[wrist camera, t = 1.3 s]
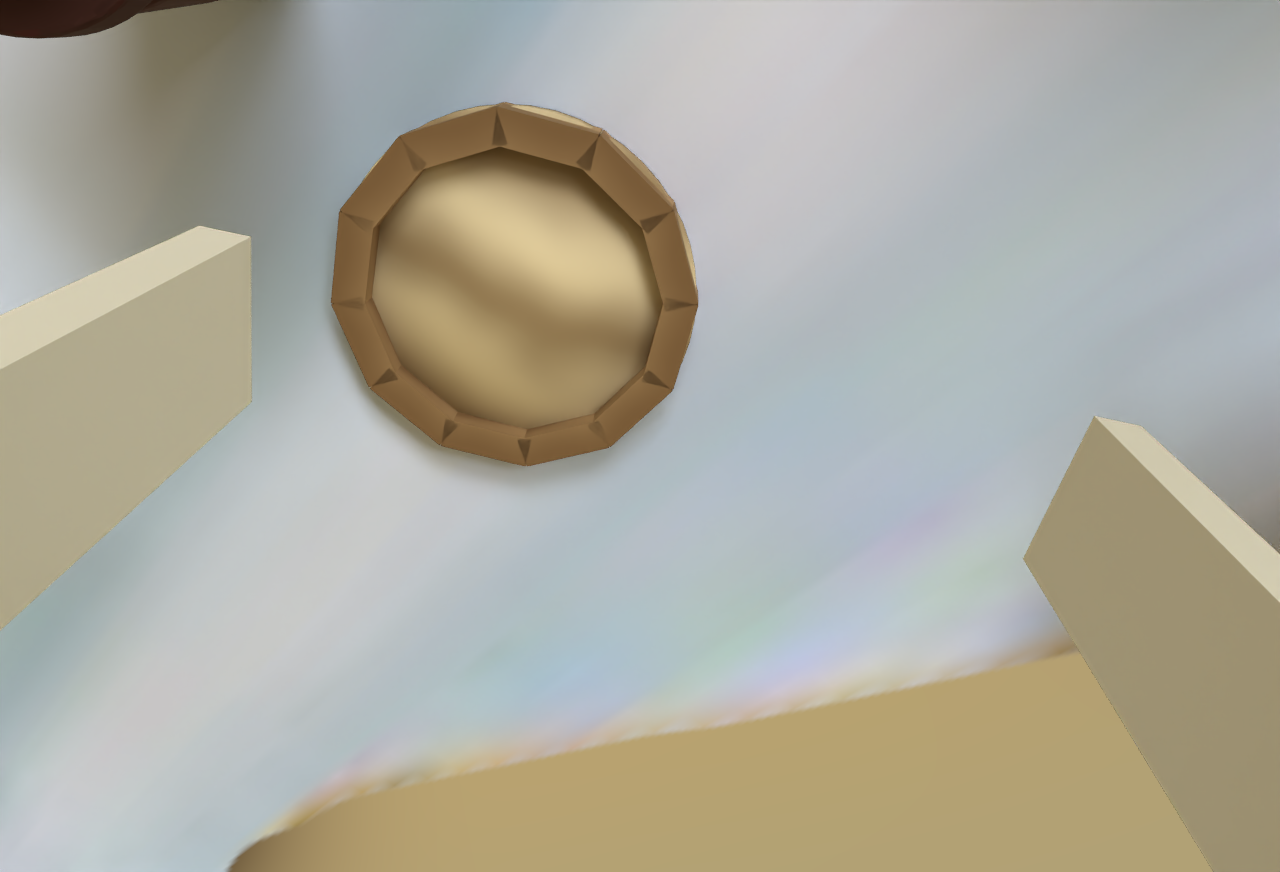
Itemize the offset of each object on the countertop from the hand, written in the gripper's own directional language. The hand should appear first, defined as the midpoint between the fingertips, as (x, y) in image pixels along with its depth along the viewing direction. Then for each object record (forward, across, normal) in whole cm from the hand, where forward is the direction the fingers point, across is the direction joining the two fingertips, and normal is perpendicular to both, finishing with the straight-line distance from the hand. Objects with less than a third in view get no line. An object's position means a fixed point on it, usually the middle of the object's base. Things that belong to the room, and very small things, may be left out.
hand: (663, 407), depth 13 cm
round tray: (+26, -6, -8) cm, 28 cm away
